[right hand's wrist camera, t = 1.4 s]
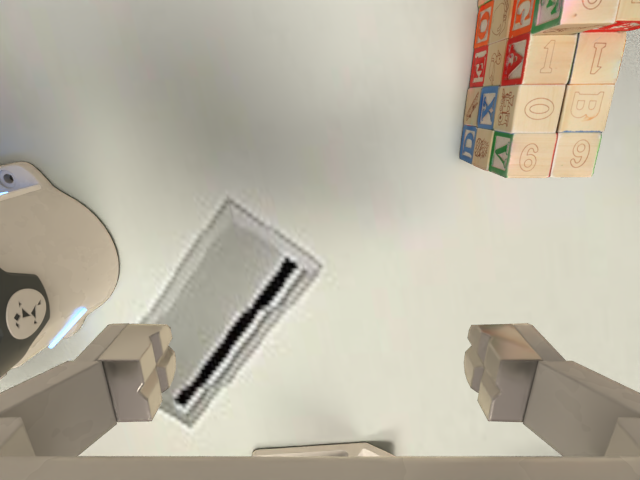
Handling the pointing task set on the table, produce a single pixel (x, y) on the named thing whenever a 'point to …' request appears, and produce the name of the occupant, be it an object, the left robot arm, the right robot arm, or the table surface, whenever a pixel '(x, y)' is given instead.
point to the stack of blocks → (543, 84)
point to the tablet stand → (325, 451)
